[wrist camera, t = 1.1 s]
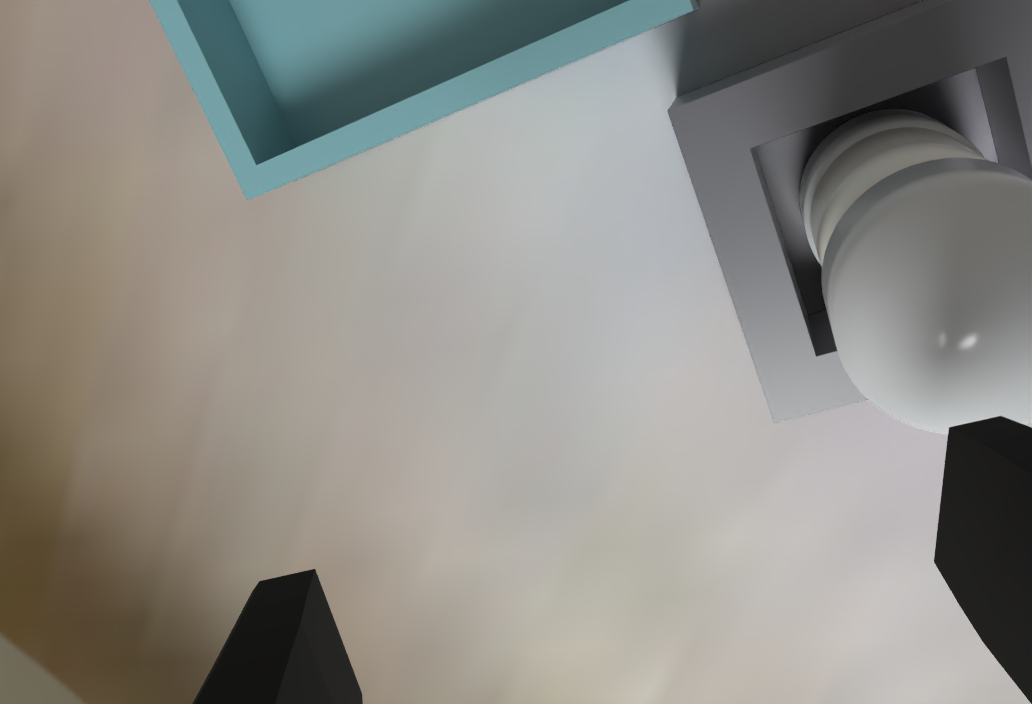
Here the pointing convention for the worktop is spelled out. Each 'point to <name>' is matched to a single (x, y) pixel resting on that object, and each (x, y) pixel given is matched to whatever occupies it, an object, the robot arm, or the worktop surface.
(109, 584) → the worktop surface
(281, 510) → the worktop surface
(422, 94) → the parts tray
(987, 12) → the grey square dish
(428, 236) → the worktop surface
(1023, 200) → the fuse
